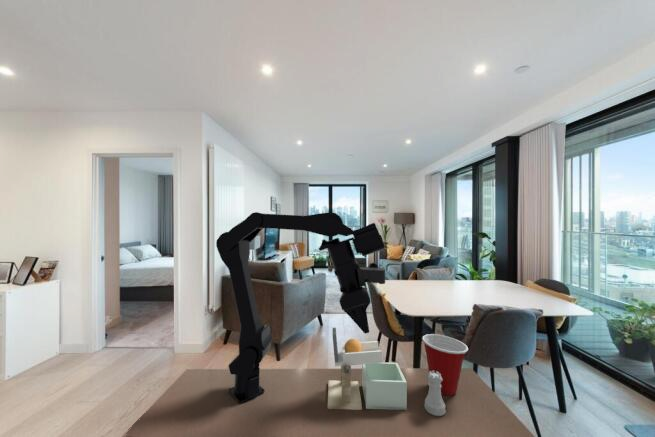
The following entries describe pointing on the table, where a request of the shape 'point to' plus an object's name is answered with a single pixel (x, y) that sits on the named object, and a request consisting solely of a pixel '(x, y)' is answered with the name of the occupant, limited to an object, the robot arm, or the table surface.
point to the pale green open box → (384, 386)
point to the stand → (344, 392)
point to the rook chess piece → (435, 395)
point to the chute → (357, 353)
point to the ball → (352, 346)
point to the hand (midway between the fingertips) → (366, 325)
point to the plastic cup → (445, 359)
